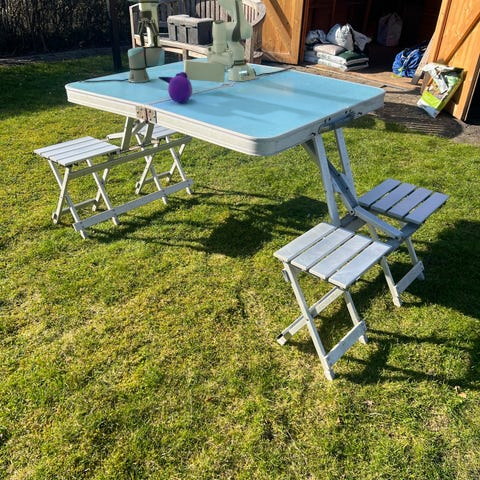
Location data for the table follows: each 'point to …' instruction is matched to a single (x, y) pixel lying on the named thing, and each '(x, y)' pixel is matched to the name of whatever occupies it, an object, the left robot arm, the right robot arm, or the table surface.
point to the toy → (178, 87)
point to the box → (204, 71)
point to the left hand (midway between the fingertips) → (149, 47)
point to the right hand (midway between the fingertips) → (220, 71)
